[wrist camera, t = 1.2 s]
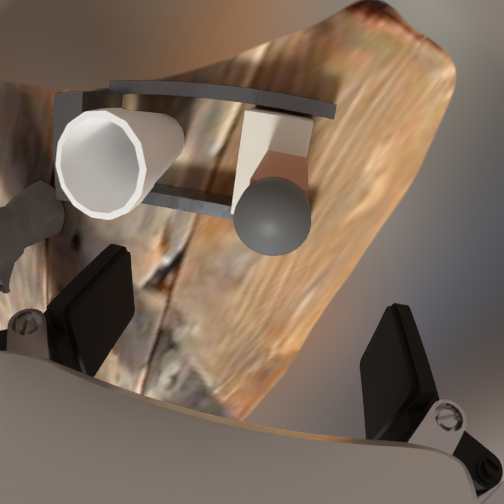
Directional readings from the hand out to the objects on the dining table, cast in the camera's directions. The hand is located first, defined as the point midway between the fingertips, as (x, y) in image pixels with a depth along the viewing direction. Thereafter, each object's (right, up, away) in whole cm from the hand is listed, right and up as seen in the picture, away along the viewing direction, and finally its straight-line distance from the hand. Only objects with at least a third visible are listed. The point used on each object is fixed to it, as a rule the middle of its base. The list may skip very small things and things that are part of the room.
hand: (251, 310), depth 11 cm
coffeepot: (-32, +10, +30) cm, 45 cm away
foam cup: (-11, +15, +24) cm, 30 cm away
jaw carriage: (+3, +12, +23) cm, 26 cm away
